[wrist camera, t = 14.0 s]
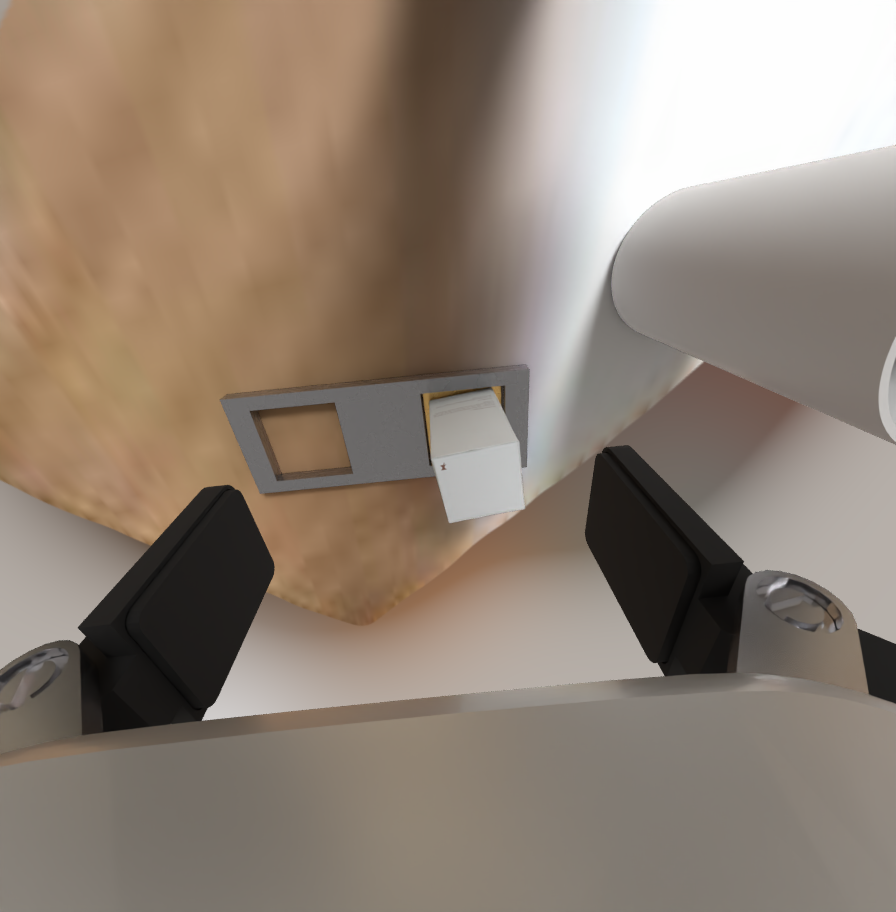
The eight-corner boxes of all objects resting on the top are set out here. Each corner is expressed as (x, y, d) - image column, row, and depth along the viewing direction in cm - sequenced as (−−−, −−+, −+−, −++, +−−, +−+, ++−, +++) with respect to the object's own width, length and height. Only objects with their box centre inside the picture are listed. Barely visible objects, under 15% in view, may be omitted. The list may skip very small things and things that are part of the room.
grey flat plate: (227, 394, 39) (219, 399, 38) (525, 364, 39) (529, 369, 38) (265, 486, 45) (260, 493, 44) (523, 460, 45) (526, 467, 44)
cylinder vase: (682, 151, 30) (1295, -61, 9) (769, 243, 34) (1347, 247, 13) (581, 291, 36) (817, 369, 14) (666, 357, 39) (955, 497, 18)
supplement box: (441, 455, 44) (445, 525, 33) (428, 398, 40) (428, 457, 29) (501, 444, 44) (526, 511, 33) (494, 385, 40) (519, 440, 29)
